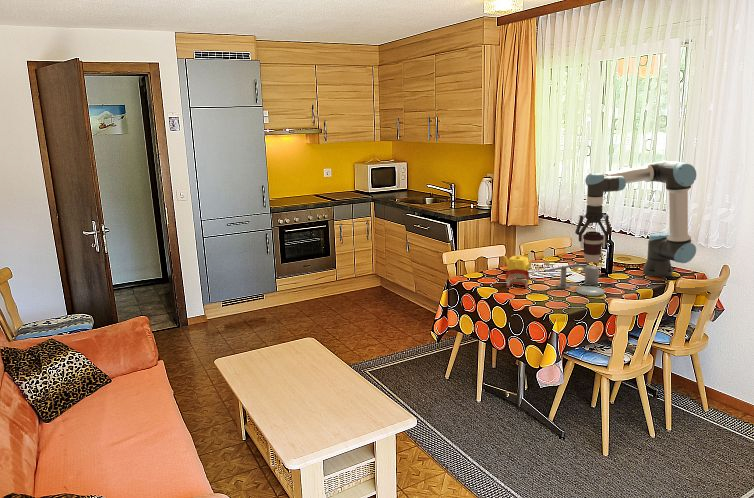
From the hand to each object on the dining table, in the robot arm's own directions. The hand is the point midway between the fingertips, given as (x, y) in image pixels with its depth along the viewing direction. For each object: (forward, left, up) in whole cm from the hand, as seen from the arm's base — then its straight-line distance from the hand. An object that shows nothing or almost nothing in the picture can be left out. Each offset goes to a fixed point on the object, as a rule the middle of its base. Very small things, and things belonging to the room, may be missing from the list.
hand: (592, 247), depth 285 cm
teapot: (+33, -39, -25) cm, 57 cm away
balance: (+12, -10, -24) cm, 29 cm away
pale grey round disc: (0, 0, -24) cm, 24 cm away
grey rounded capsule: (-4, -16, -24) cm, 30 cm away
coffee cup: (0, 0, -7) cm, 7 cm away
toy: (+36, -12, -25) cm, 45 cm away
